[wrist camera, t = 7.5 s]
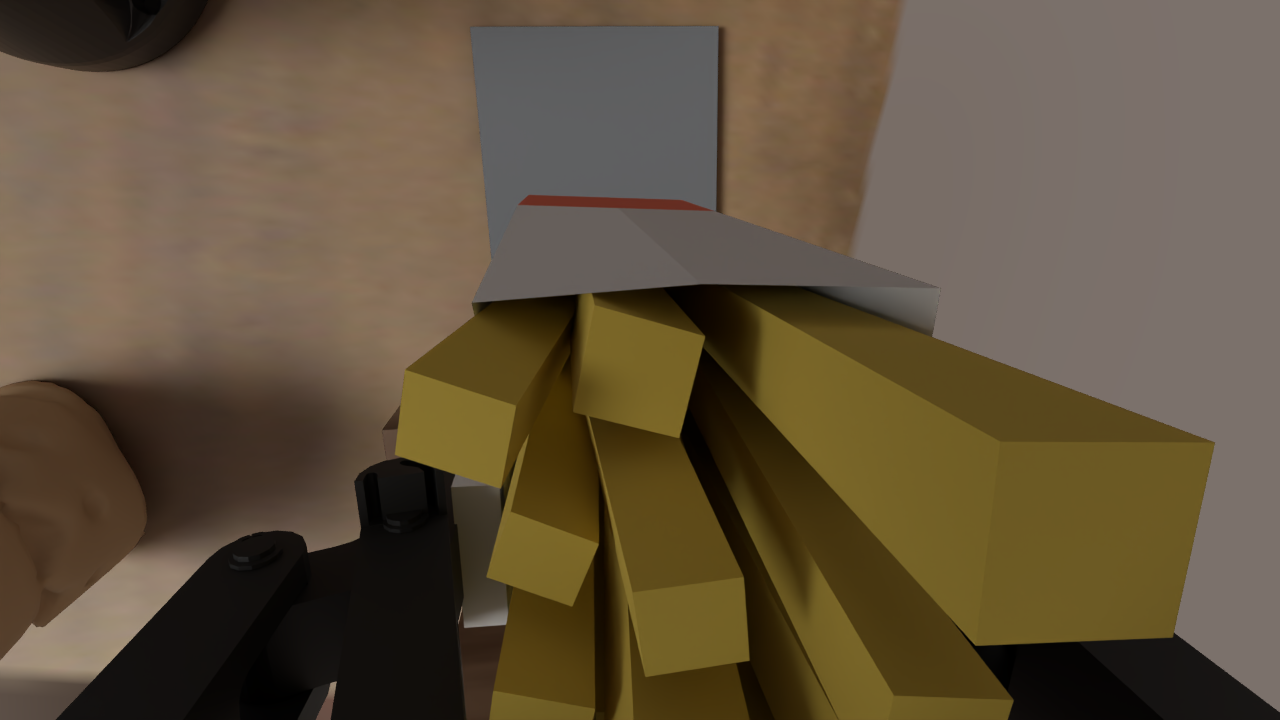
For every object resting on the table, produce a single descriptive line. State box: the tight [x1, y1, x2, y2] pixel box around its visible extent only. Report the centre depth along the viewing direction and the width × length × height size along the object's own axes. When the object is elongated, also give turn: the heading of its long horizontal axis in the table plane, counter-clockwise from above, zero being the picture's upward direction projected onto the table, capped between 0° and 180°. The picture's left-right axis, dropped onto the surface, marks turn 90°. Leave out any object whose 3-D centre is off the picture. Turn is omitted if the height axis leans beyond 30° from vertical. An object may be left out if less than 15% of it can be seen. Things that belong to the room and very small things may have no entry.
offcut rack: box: [382, 405, 506, 720], centre depth 37 cm, size 18×19×14 cm
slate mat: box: [470, 26, 718, 259], centre depth 38 cm, size 15×14×1 cm
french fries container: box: [395, 195, 1215, 720], centre depth 12 cm, size 5×11×18 cm, turn 178°
